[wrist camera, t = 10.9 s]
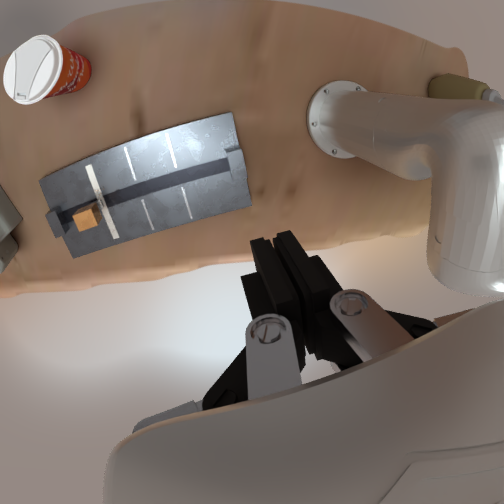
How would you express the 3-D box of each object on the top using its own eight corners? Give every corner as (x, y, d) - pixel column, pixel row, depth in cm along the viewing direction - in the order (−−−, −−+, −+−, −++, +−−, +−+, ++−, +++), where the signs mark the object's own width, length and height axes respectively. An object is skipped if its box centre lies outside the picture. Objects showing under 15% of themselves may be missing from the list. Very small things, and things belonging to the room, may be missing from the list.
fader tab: (101, 195, 37) (90, 208, 33) (107, 209, 38) (97, 225, 34) (84, 201, 37) (72, 216, 32) (90, 216, 38) (79, 231, 34)
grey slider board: (229, 111, 37) (233, 113, 34) (249, 200, 45) (254, 210, 41) (44, 176, 36) (32, 184, 32) (76, 252, 43) (69, 265, 39)
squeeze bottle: (447, 117, 43) (519, 140, 28) (420, 105, 41) (498, 125, 26) (452, 81, 39) (525, 95, 24) (425, 66, 37) (504, 74, 22)
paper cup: (91, 101, 32) (47, 106, 20) (47, 97, 30) (-6, 105, 18) (105, 49, 29) (67, 31, 17) (59, 47, 26) (10, 35, 15)
